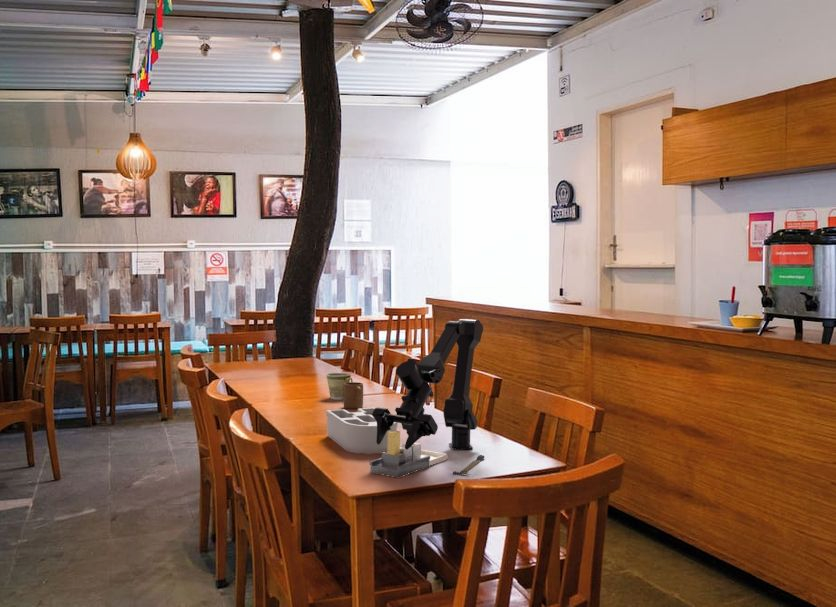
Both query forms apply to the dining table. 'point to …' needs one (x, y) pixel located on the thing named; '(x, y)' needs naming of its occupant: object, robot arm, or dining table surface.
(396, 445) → the yellow peg on base
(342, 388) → the ceramic cup
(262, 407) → the dining table surface
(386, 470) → the slot deck
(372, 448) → the grey compartment organizer
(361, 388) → the mug
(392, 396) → the dining table surface
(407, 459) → the pale grey cube
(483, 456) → the tactical tomahawk
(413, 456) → the speckled white cube
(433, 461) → the tray
